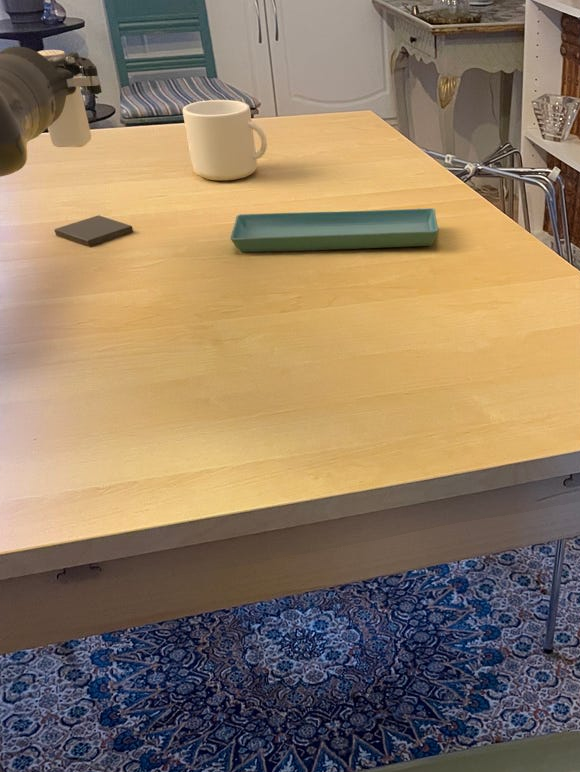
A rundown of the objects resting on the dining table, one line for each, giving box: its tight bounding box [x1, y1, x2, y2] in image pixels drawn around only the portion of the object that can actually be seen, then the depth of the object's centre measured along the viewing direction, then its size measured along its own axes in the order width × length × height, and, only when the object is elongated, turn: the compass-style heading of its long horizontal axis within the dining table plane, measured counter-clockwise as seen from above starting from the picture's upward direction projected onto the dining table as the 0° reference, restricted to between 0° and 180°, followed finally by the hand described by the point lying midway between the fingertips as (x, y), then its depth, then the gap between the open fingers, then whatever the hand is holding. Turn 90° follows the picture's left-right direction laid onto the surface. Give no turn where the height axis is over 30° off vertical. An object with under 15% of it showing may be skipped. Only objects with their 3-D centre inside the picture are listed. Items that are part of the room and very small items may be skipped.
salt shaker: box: [37, 49, 92, 148], centre depth 110 cm, size 4×4×10 cm
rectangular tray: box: [230, 207, 439, 253], centre depth 122 cm, size 26×9×2 cm, turn 95°
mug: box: [182, 99, 268, 182], centre depth 140 cm, size 12×10×9 cm
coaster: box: [54, 214, 134, 248], centre depth 123 cm, size 7×7×1 cm
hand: (60, 62), depth 110 cm, fingers closed on salt shaker, 3 cm apart
